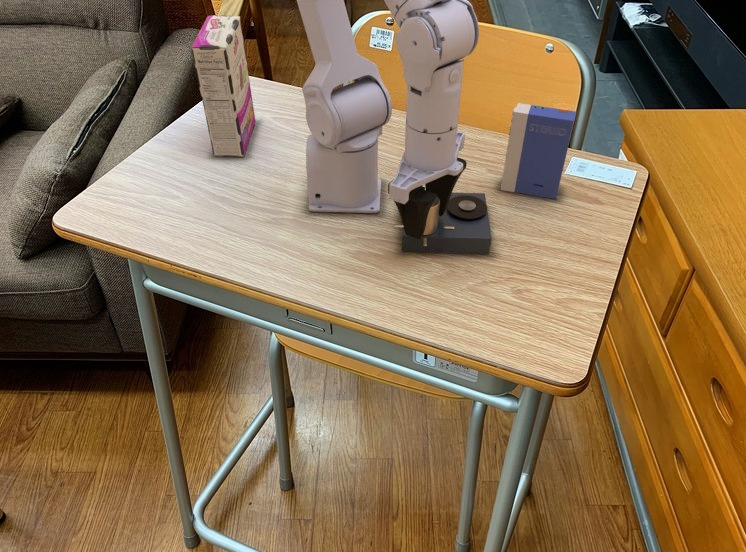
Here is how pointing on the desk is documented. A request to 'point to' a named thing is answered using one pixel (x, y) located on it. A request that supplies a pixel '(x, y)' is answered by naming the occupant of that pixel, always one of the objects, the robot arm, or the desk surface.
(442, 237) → the hot plate
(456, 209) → the burner
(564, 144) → the walkman
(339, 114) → the robot arm
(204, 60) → the candy bar box
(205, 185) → the desk surface
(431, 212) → the knob
